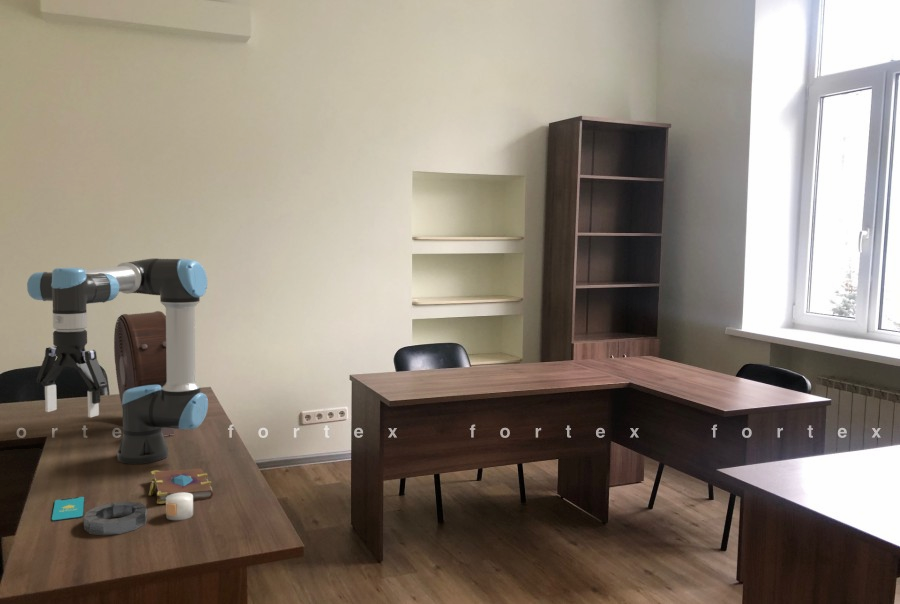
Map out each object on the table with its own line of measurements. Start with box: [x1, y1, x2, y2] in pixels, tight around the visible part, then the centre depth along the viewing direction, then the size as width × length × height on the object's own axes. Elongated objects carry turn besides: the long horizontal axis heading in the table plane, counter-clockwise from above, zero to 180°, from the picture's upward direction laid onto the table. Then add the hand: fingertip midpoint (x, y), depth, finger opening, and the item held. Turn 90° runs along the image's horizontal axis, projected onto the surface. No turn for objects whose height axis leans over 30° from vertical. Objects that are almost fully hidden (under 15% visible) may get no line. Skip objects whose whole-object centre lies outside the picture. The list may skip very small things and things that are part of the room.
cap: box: [165, 492, 194, 521], centre depth 187 cm, size 8×7×5 cm
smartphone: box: [51, 496, 85, 522], centre depth 190 cm, size 7×1×15 cm
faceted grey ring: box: [83, 500, 148, 536], centre depth 181 cm, size 14×14×3 cm
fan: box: [113, 310, 175, 435], centre depth 268 cm, size 41×18×44 cm, turn 34°
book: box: [148, 468, 214, 505], centre depth 208 cm, size 16×25×5 cm, turn 27°
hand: (72, 413), depth 182 cm, fingers open, 13 cm apart
